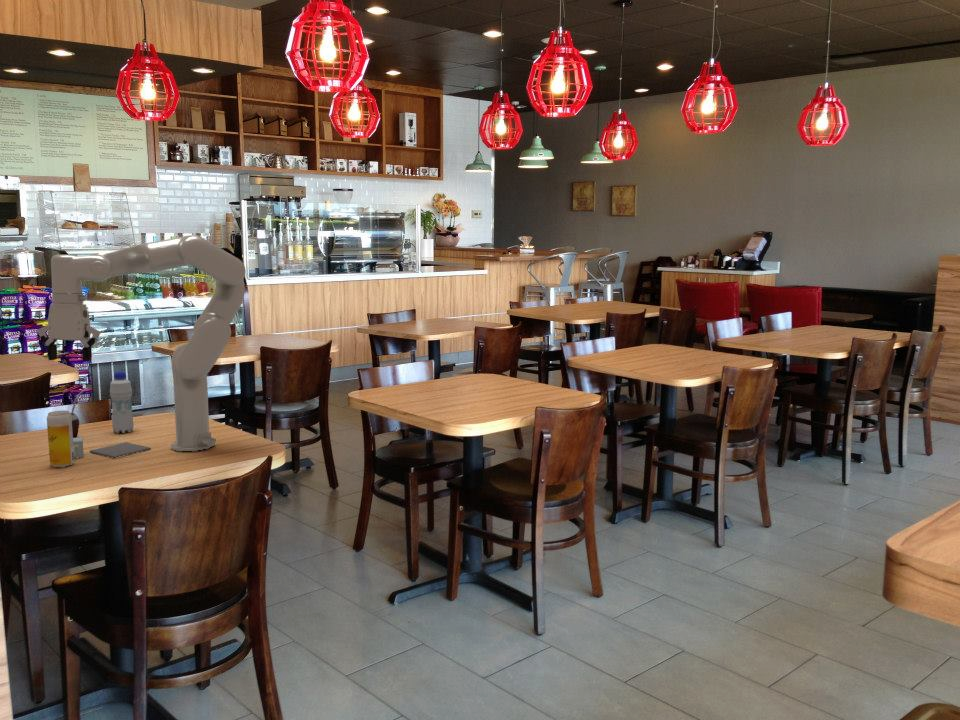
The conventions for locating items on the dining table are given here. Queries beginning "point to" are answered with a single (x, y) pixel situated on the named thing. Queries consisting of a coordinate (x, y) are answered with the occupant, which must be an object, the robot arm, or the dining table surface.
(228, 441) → the dining table surface
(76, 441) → the letter block
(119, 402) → the bottle
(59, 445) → the beer can
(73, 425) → the mate gourd
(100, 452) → the coaster
